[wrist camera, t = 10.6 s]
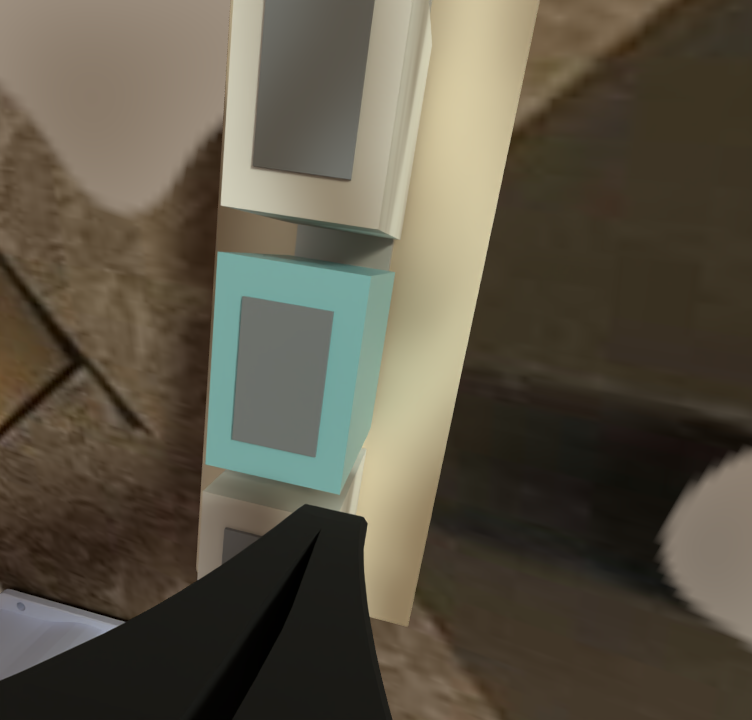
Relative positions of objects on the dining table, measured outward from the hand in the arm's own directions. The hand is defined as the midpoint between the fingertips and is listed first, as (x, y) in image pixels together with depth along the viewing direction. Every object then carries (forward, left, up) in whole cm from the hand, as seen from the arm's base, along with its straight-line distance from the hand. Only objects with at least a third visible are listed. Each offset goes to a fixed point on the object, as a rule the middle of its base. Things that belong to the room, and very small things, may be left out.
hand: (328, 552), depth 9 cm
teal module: (-2, +2, -8) cm, 9 cm away
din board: (-2, +3, -9) cm, 10 cm away
